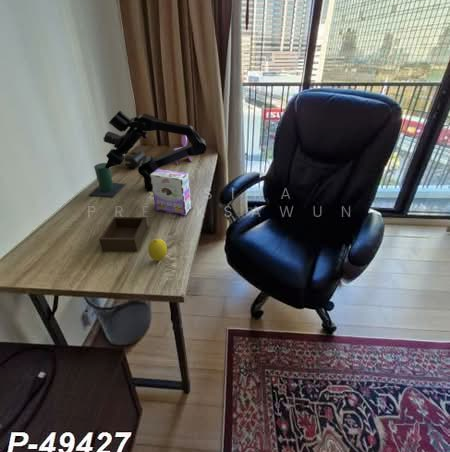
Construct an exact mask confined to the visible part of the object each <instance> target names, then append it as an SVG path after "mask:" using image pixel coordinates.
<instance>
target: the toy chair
mask: <svg viewBox="0 0 450 452" xmlns="http://www.w3.org/2000/svg"><path fill="white" fill-rule="evenodd" d="M187 144H188V138H187V136H186V135H182V136H181V145H182V146H181V147H175V148H173V151H175V150H177V149H180V148H182V147H185V146H186V145H187ZM187 159H188V160H189V161H190V163H192V162H193V161H192V158H191V156H187ZM175 163H176V165H179V163H178V160H177V161H175Z"/></svg>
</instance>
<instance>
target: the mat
mask: <svg viewBox="0 0 450 452" xmlns="http://www.w3.org/2000/svg"><path fill="white" fill-rule="evenodd" d="M113 185H114V189H113V190H112V191H109V192H101V190H100V187H99V185H98V186H97V187H96V188H95V189H94V190H93V191H92V192H90V193H89V196H90V197H102V198H103V197H104V198H114V196H115V195H116V194H117V193H119V192H120V190H121V189H122V188H123V187H124V186H125V183H119V182H117V183H116V182H113Z"/></svg>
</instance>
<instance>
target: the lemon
mask: <svg viewBox="0 0 450 452" xmlns="http://www.w3.org/2000/svg"><path fill="white" fill-rule="evenodd" d="M147 249H148V250H147V251H148V255H149V257H150V259H151V260H153V261H155V262H158V261H162V260H164V259H165V257H166V256H167V253H168V247H167V244H166V242H165V240H163V239H161V238H154V239H152V240H151V241H150V243H149V245H148V248H147Z"/></svg>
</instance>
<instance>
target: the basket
mask: <svg viewBox="0 0 450 452" xmlns="http://www.w3.org/2000/svg"><path fill="white" fill-rule="evenodd" d="M148 229H149V227H148V223H147V217H146V216H113V218H112V219H111V221H110V222H109V223H108V225H107V226H106V228H105V230H104V231H103V232H102V234H101V236H100V237H99V238H98V242H99V245H100V248H101V251H102V252H138V251H139V249H140V246H141V245H142V242H143V240H144V238H145V235H146V233H147V231H148Z"/></svg>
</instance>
